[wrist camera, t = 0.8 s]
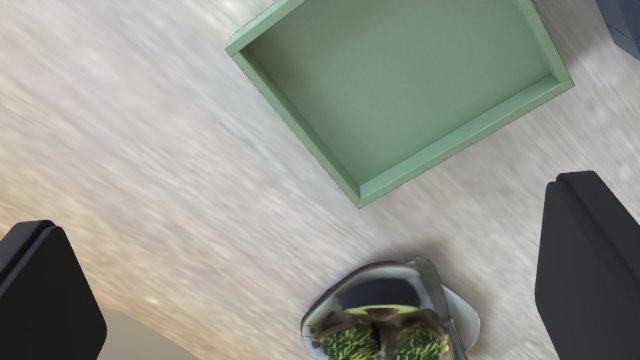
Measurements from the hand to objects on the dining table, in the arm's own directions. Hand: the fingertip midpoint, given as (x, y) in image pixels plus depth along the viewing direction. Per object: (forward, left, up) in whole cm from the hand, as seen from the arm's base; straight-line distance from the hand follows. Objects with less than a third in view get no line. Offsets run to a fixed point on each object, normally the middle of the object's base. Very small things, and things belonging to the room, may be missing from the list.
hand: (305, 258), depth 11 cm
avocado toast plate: (+33, -15, -33) cm, 49 cm away
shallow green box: (+9, +1, -33) cm, 34 cm away
